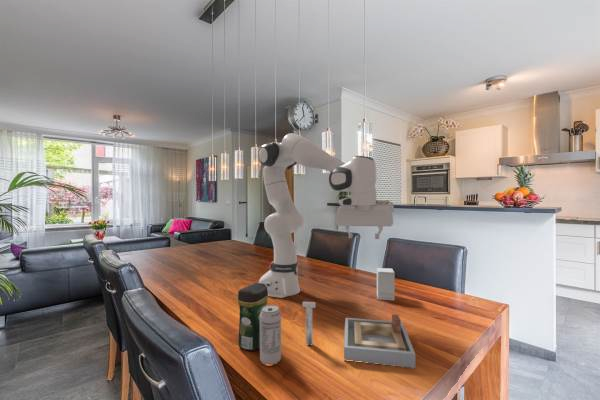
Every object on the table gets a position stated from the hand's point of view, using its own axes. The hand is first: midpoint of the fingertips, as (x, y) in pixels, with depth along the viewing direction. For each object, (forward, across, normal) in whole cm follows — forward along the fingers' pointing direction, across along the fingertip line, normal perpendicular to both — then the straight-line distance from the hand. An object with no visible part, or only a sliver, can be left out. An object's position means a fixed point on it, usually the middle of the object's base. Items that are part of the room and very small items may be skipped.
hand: (363, 238), depth 100 cm
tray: (+31, -3, +15) cm, 35 cm away
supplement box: (+31, -11, -28) cm, 43 cm away
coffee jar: (+31, +35, +20) cm, 51 cm away
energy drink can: (+31, +27, +28) cm, 50 cm away
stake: (+31, +18, +18) cm, 40 cm away
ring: (+30, -4, +15) cm, 34 cm away
